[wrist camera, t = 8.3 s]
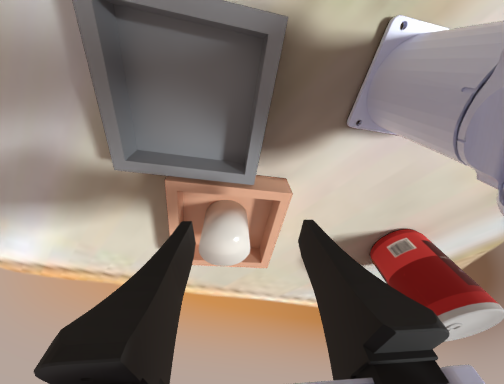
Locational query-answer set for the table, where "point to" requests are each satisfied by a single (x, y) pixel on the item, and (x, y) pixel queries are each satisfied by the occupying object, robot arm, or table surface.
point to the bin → (182, 83)
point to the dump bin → (249, 196)
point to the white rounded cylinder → (225, 234)
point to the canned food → (435, 283)
